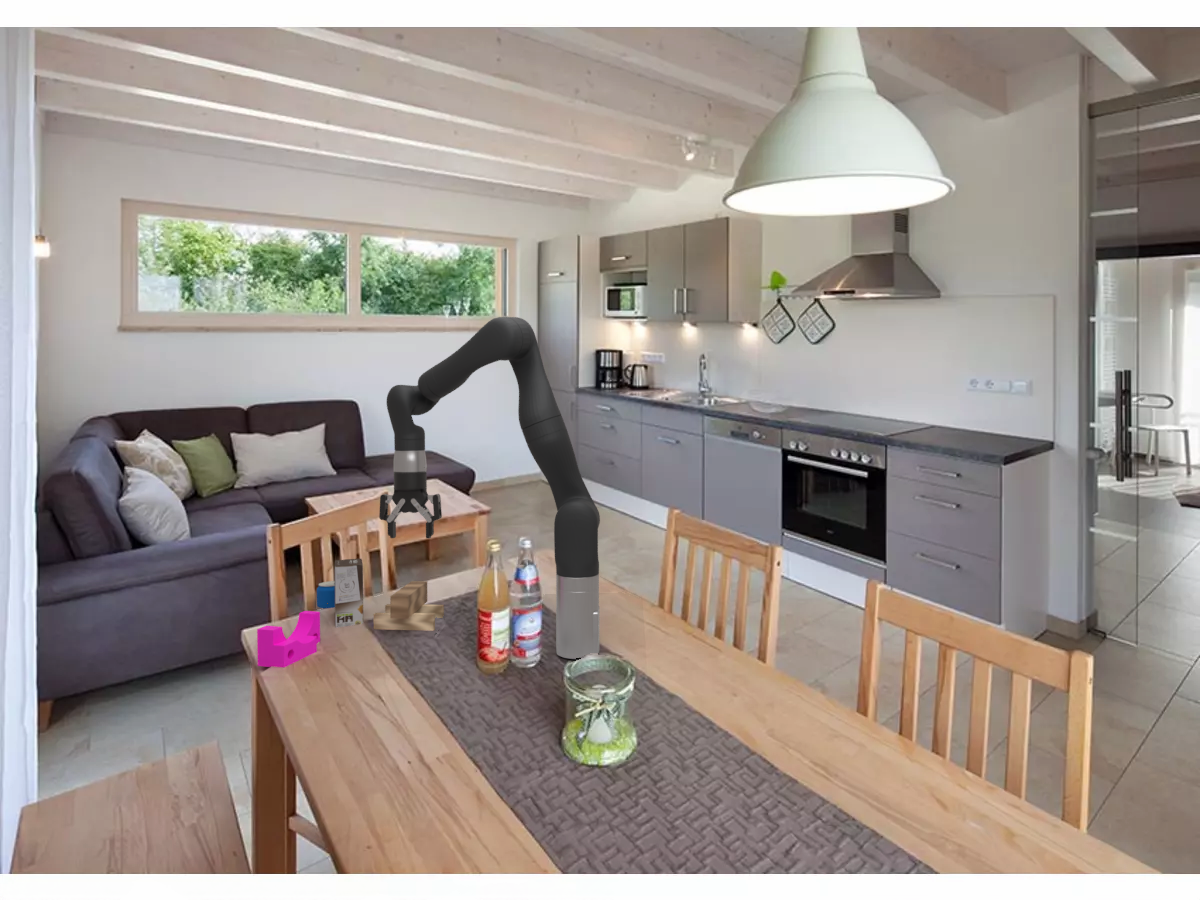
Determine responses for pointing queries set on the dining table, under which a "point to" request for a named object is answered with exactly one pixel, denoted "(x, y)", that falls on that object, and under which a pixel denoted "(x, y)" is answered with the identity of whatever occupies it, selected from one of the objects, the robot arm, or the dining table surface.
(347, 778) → the dining table surface
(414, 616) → the rail stand
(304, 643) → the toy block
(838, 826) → the dining table surface
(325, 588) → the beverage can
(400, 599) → the walnut beam
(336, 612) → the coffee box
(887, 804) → the dining table surface
